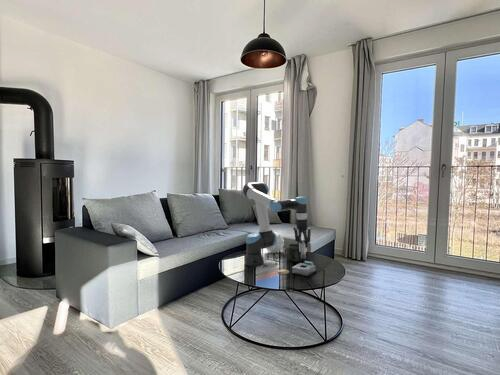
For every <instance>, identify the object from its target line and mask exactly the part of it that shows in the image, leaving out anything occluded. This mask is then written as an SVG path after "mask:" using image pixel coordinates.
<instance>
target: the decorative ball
mask: <svg viewBox="0 0 500 375" xmlns="http://www.w3.org/2000/svg"><path fill="white" fill-rule="evenodd" d="M272 231H273V232H274V233H275V234H276V237H277V241H276V243H275V245H274V246H271V247H267V248H265V249H266V250H267V251H268V252H269V253H273V254H276V253H277V252H280V251H281V250H283V249H284V245H285V240H284V237H283V235H282V234H281V233H280V232H278V231H275V230H272Z"/></svg>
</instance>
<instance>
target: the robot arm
mask: <svg viewBox="0 0 500 375" xmlns="http://www.w3.org/2000/svg"><path fill="white" fill-rule="evenodd" d="M269 190H270V189H269V186H268V184H267V183H266V182H264V181H257V182H256V181H255V182H247V183H245V184H244V185H243V187H242V194H243V195H244V197H245V198H247V199H248V200H252V199H253V201H255V208H256V214H257V221H258V227H259V228H258V229H259V230H258V232H254V233H250V234H248V235H247V236H246V238H245V243H246V255H245V260H244V265H245V264H246V265H245V266H247V265H248V266H247V267H260V266H263V265H264V264H265V260H264V256H263V255H262V249H266V248H267V247H271V246H274V245H275V244H276V241H277V237H276V234H275V233H274V232H273V231H274V230H273V229H272V228H271V225H270V218H269V214H268V208H269V210H270V211H271V212H273V213H278V212H284V211H285V212H286V211H295V214H296V225H295V226H294V227H292V228H293V231H294V240H295V242H297V244H298V247H299V252H301V243H300V240H301V239H302V235H303V239H304V240H305V243H304V252H306V253H307V252H308V248H309V243H310V242H311V232H312V228H311V227H309V226H308V208H307V207H308V206H307V205H308V201H307V197H305V196H297V197H295V199H293V198H285V199H284V200H283V199H282V200H279V199H276V198H274V197H272V196H270V195H269ZM271 248H272V247H271Z"/></svg>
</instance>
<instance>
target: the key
mask: <svg viewBox="0 0 500 375" xmlns="http://www.w3.org/2000/svg"><path fill="white" fill-rule="evenodd" d="M300 243H301V258H302V260H304V259H307V258H306V257H307V256H306V253H307V252H304V243H305V240H304V238H301V240H300Z"/></svg>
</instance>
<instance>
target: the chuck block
mask: <svg viewBox="0 0 500 375" xmlns="http://www.w3.org/2000/svg"><path fill="white" fill-rule="evenodd" d="M314 272H316V265H314V262H313V261H307V260H305V261H303V263H302V262H299V263H296V265H294V266H292V267H291V273H292V274H296V275H301V276H306V277H308V276H310V275H312V274H314Z"/></svg>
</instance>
